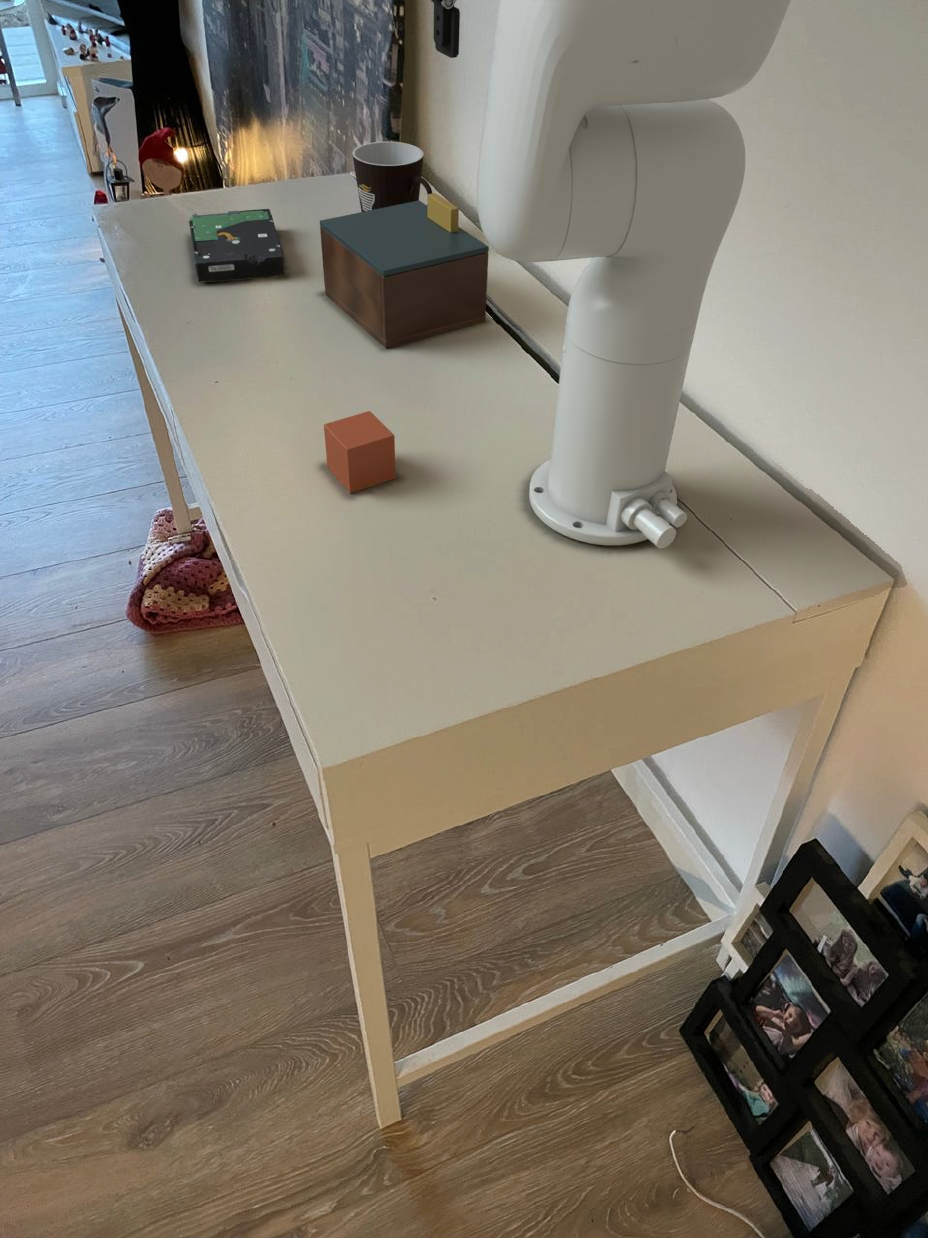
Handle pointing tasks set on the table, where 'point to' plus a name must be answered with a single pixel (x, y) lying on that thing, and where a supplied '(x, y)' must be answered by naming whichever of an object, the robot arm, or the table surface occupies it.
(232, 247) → the disk drive
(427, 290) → the walnut box
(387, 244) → the teal box lid
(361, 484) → the terracotta block
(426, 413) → the table surface
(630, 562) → the table surface
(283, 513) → the table surface
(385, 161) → the coffee mug
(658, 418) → the robot arm
